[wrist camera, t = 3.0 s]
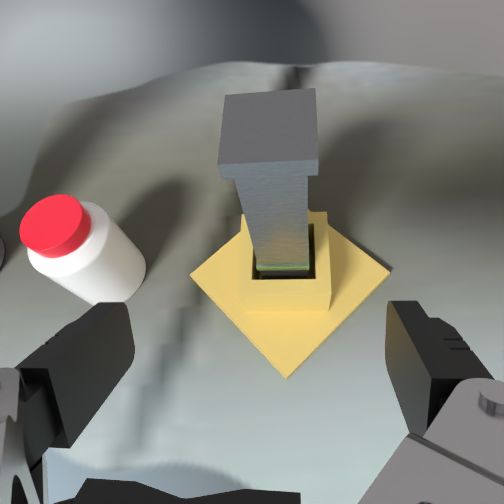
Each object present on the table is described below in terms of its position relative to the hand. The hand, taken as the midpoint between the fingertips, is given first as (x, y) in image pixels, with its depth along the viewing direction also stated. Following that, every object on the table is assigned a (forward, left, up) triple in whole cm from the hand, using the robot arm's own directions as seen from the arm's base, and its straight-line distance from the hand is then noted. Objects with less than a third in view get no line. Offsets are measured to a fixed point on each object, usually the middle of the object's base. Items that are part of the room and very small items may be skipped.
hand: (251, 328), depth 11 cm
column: (+8, +8, -22) cm, 25 cm away
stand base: (+8, +8, -24) cm, 26 cm away
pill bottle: (-5, +22, -24) cm, 33 cm away
